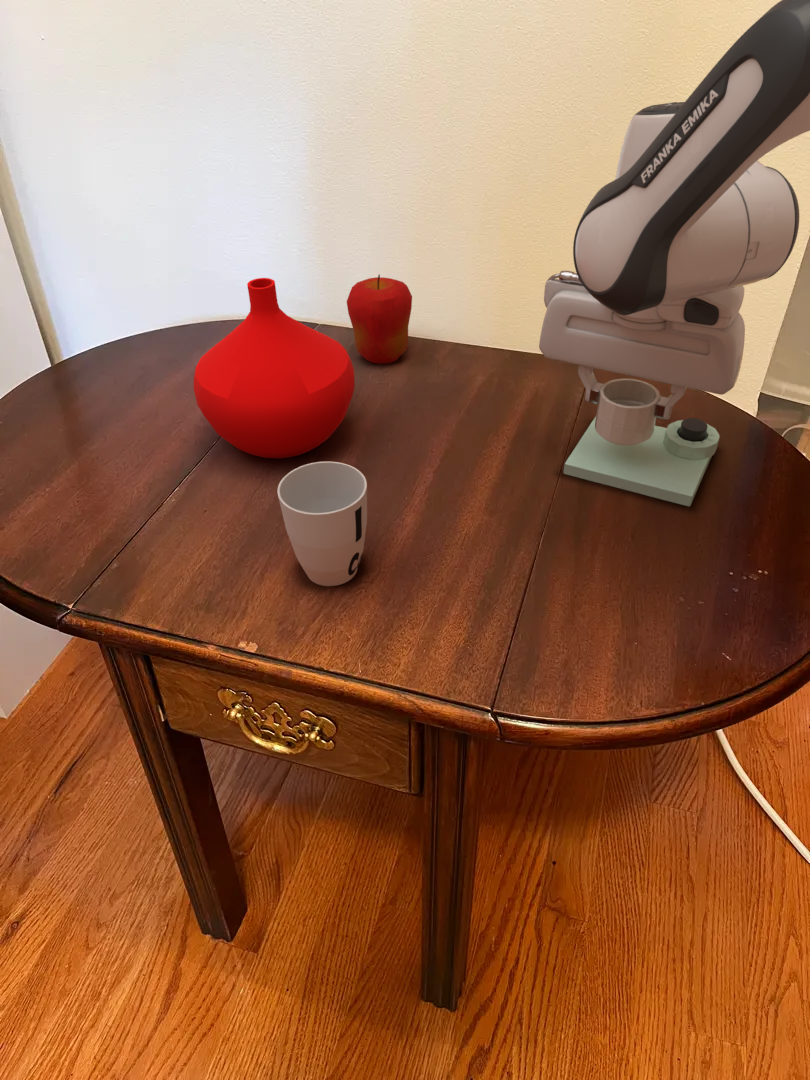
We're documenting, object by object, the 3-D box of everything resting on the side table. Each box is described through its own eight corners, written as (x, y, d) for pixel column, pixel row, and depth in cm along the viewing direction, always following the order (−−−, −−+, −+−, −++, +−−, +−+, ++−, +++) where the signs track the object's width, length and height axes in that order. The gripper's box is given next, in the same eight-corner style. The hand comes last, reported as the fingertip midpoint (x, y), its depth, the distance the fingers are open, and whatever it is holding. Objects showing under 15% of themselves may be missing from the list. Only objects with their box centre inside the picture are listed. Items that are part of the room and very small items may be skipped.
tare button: (707, 432, 94) (710, 421, 93) (701, 445, 92) (704, 433, 91) (682, 427, 95) (684, 415, 94) (676, 439, 93) (678, 427, 92)
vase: (360, 475, 94) (348, 315, 82) (197, 485, 94) (160, 326, 82) (356, 393, 108) (346, 247, 96) (214, 401, 108) (186, 255, 96)
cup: (370, 596, 79) (364, 513, 73) (285, 597, 79) (271, 514, 73) (374, 541, 85) (368, 460, 79) (295, 542, 86) (283, 461, 79)
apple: (415, 342, 119) (413, 261, 111) (410, 371, 113) (408, 286, 105) (355, 341, 120) (350, 260, 112) (347, 369, 113) (340, 286, 106)
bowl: (658, 425, 93) (666, 385, 90) (643, 454, 89) (651, 413, 86) (604, 413, 95) (610, 373, 92) (587, 440, 91) (592, 399, 88)
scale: (718, 449, 96) (723, 426, 95) (693, 508, 88) (698, 484, 86) (597, 420, 102) (600, 399, 100) (563, 473, 94) (565, 451, 92)
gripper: (535, 279, 83) (526, 401, 92) (749, 316, 75) (717, 445, 84) (557, 256, 87) (546, 375, 96) (762, 289, 79) (730, 415, 88)
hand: (627, 408), depth 90 cm, fingers closed on bowl, 6 cm apart
